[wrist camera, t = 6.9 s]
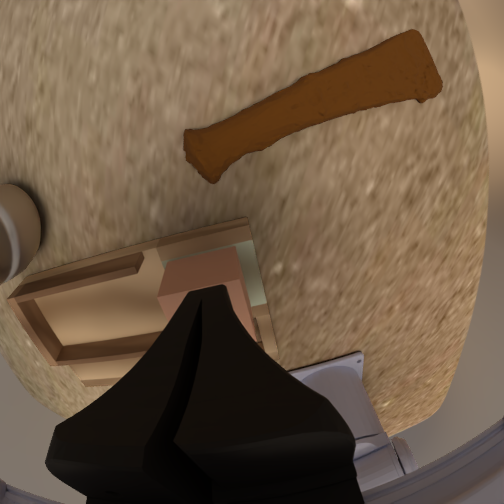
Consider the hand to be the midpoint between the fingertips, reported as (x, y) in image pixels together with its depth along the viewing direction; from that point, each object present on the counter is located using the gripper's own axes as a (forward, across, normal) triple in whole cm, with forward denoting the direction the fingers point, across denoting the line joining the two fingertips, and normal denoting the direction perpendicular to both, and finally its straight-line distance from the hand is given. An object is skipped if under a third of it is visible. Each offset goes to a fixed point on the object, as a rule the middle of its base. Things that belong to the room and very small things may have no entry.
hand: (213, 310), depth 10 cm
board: (+10, +8, +6) cm, 14 cm away
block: (+8, +1, +4) cm, 9 cm away
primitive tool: (+11, -9, -7) cm, 16 cm away
